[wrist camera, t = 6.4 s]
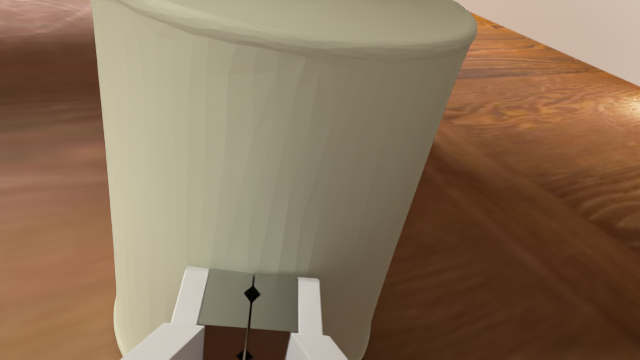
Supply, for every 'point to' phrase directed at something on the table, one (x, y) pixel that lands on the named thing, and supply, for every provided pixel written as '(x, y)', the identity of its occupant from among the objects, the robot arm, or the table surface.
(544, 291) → the table surface
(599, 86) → the table surface
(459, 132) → the table surface
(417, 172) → the can
